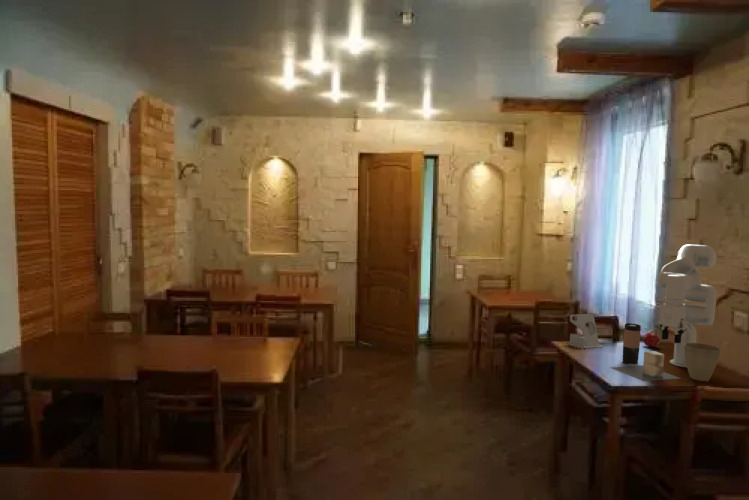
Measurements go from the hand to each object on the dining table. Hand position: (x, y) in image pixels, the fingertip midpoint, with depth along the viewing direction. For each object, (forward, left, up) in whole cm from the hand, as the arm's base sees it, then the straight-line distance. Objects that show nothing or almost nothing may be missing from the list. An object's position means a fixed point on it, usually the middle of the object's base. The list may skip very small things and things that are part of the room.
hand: (671, 340), depth 255 cm
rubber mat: (0, -14, -20) cm, 24 cm away
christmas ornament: (-48, -59, -20) cm, 79 cm away
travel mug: (-8, -32, -20) cm, 38 cm away
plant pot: (-20, -1, -20) cm, 28 cm away
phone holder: (-9, -68, -20) cm, 71 cm away
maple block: (0, -9, -19) cm, 21 cm away
